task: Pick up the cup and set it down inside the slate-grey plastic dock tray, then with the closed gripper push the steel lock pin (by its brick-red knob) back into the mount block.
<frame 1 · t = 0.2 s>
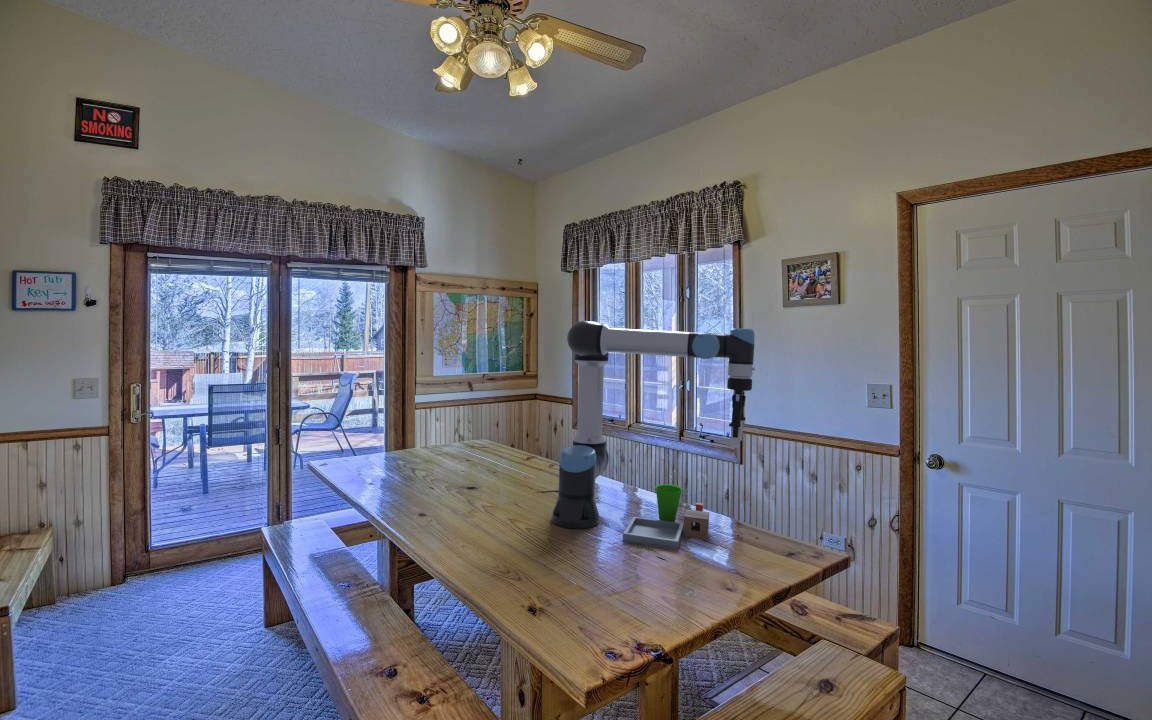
hand: (736, 443, 173), 27 cm above the table, fingers open, 13 cm apart
mount: (695, 534, 167), on the table
tray: (654, 535, 165), on the table
cup: (667, 521, 179), on the table
pin: (698, 515, 174), point 4 cm above the table, slide at 4.5 cm
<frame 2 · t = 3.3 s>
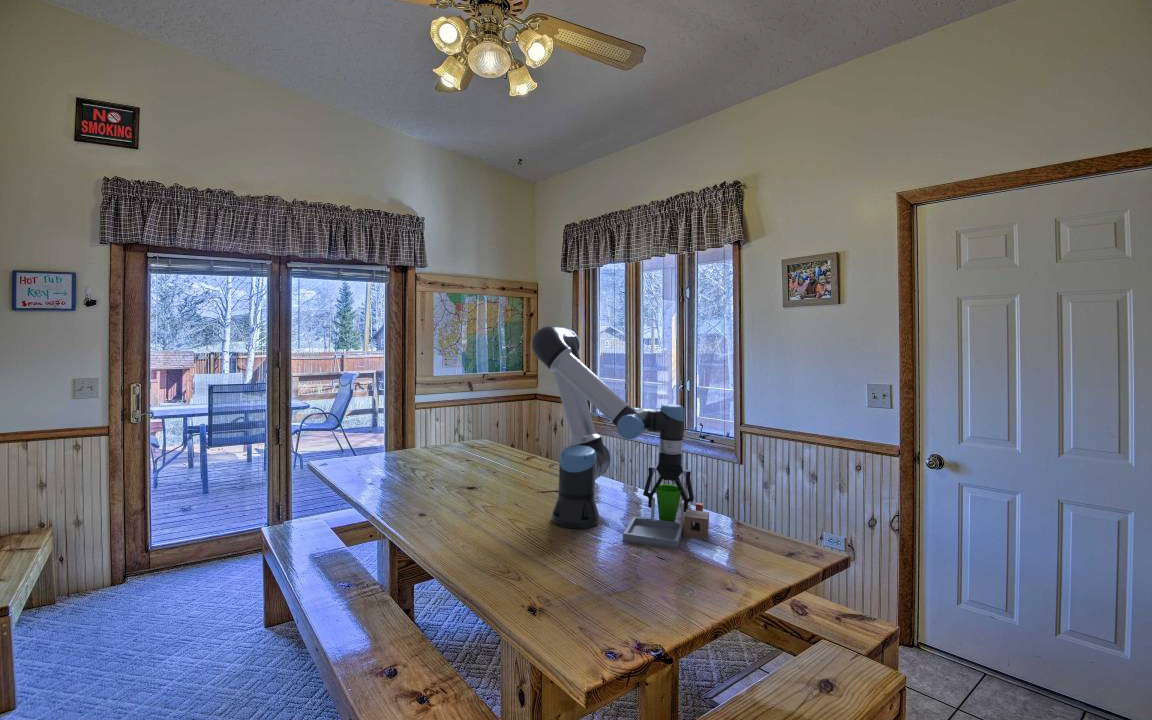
hand: (667, 519, 179), 0 cm above the table, fingers closed on cup, 9 cm apart
cup: (667, 521, 179), on the table, touching gripper
everything else where it was.
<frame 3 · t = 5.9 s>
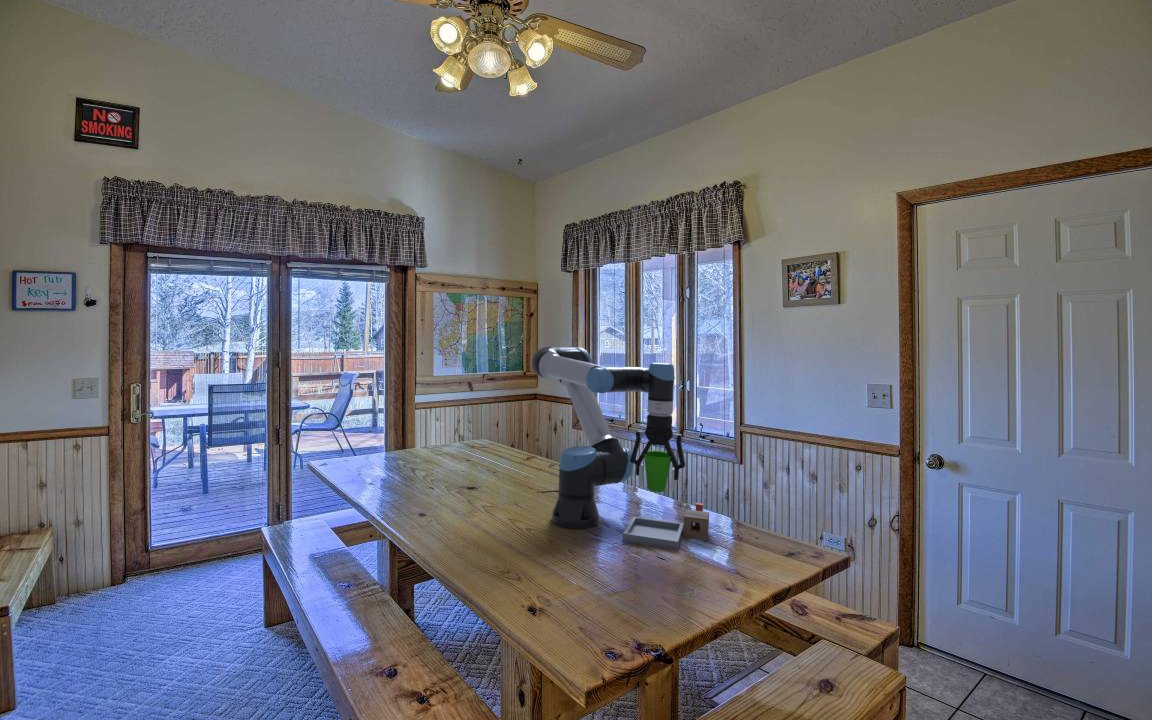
hand: (656, 488, 164), 15 cm above the table, fingers closed on cup, 9 cm apart
cup: (656, 490, 164), point 14 cm above the table, touching gripper
everything else where it was.
when the fingers open (3 cm above the table, at t = 8.4 s): cup drops 2 cm, resting on tray.
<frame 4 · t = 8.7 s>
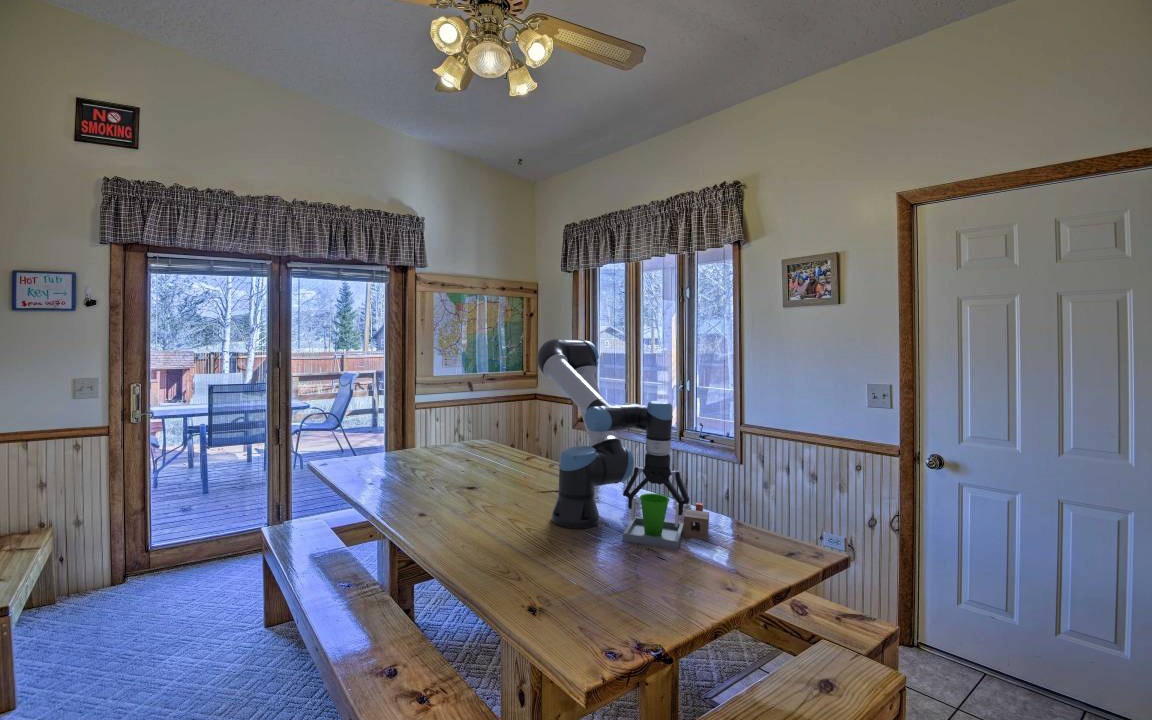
hand: (654, 522, 165), 4 cm above the table, fingers open, 13 cm apart
cup: (653, 534, 165), resting on tray
everything else where it was.
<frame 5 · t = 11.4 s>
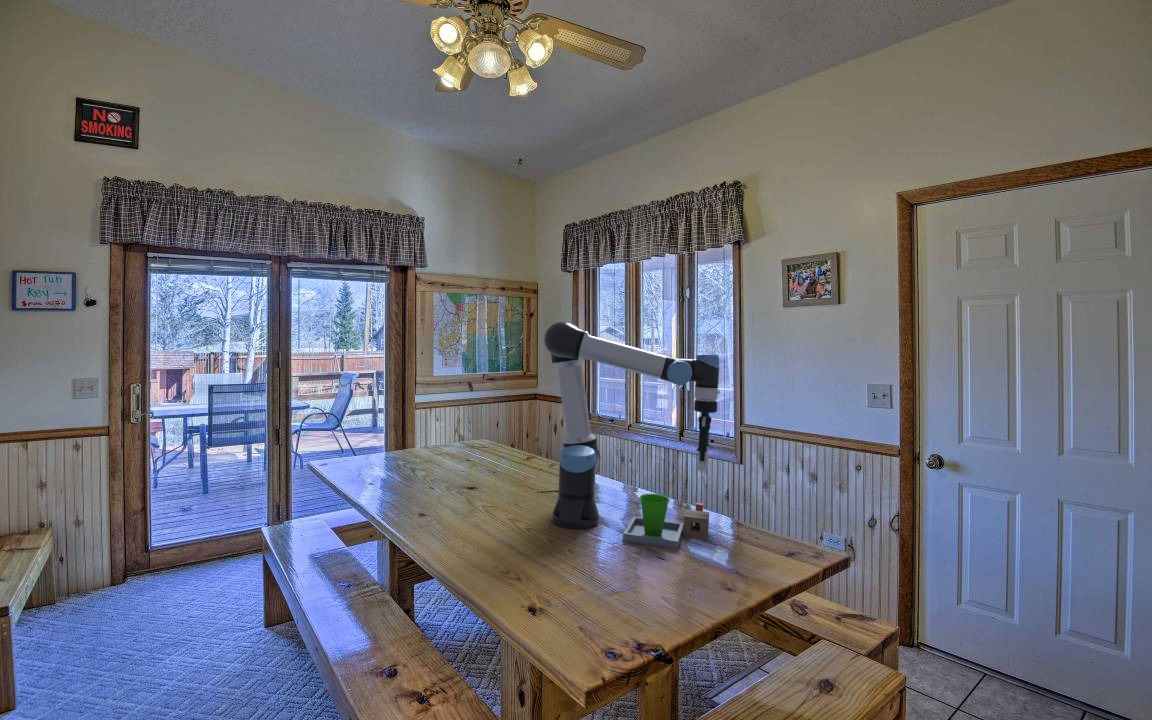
hand: (702, 467, 183), 17 cm above the table, fingers open, 6 cm apart
nothing on the table moved.
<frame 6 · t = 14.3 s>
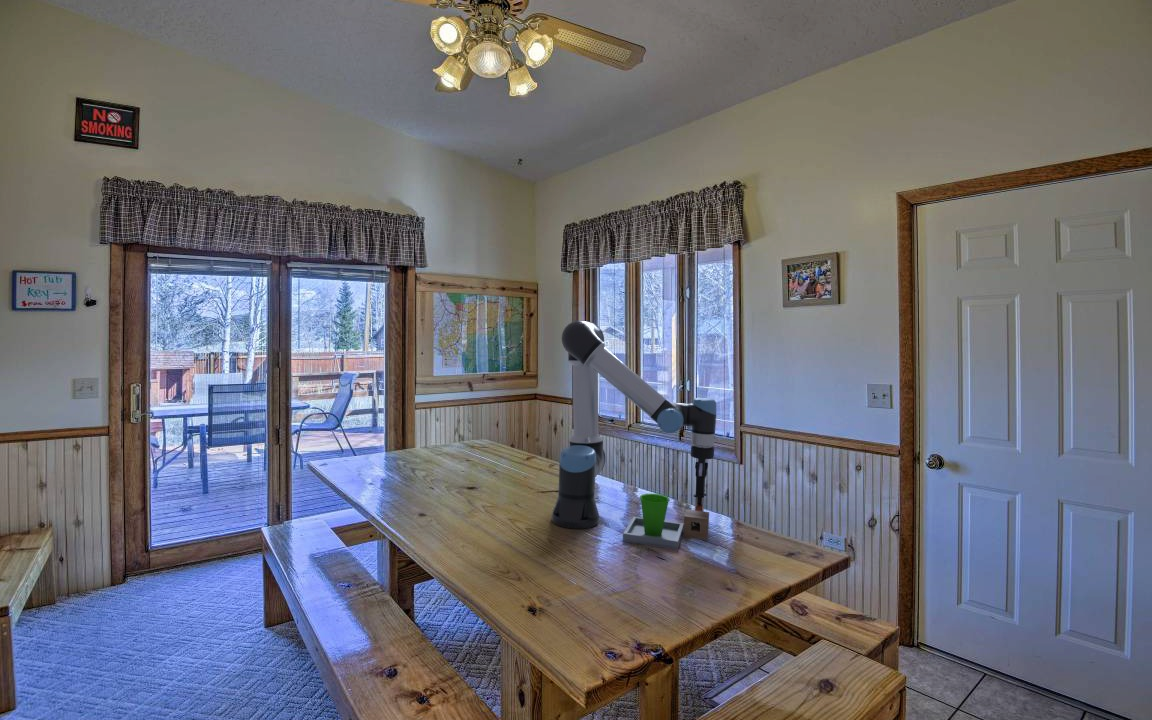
hand: (698, 515, 179), 2 cm above the table, fingers closed
pin: (697, 517, 172), point 4 cm above the table, slide at 2.8 cm, touching gripper
everything else where it was.
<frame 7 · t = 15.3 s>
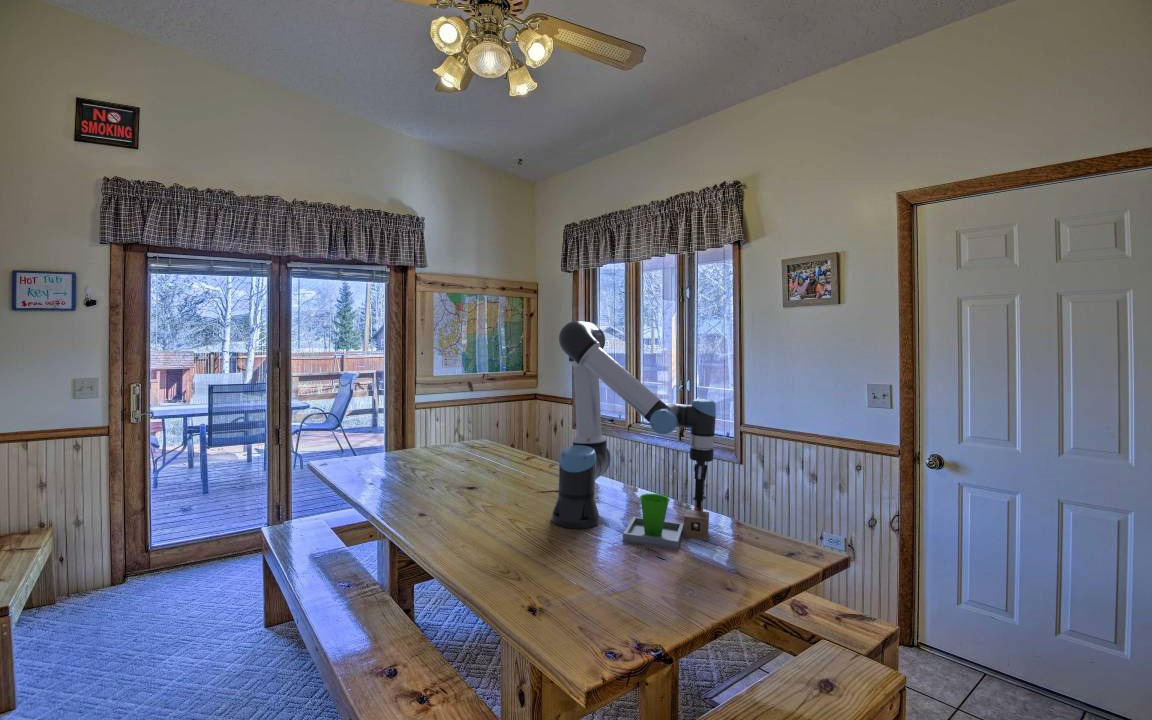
hand: (698, 518, 176), 2 cm above the table, fingers closed
pin: (697, 520, 169), point 4 cm above the table, slide at -0.4 cm, touching gripper
everything else where it was.
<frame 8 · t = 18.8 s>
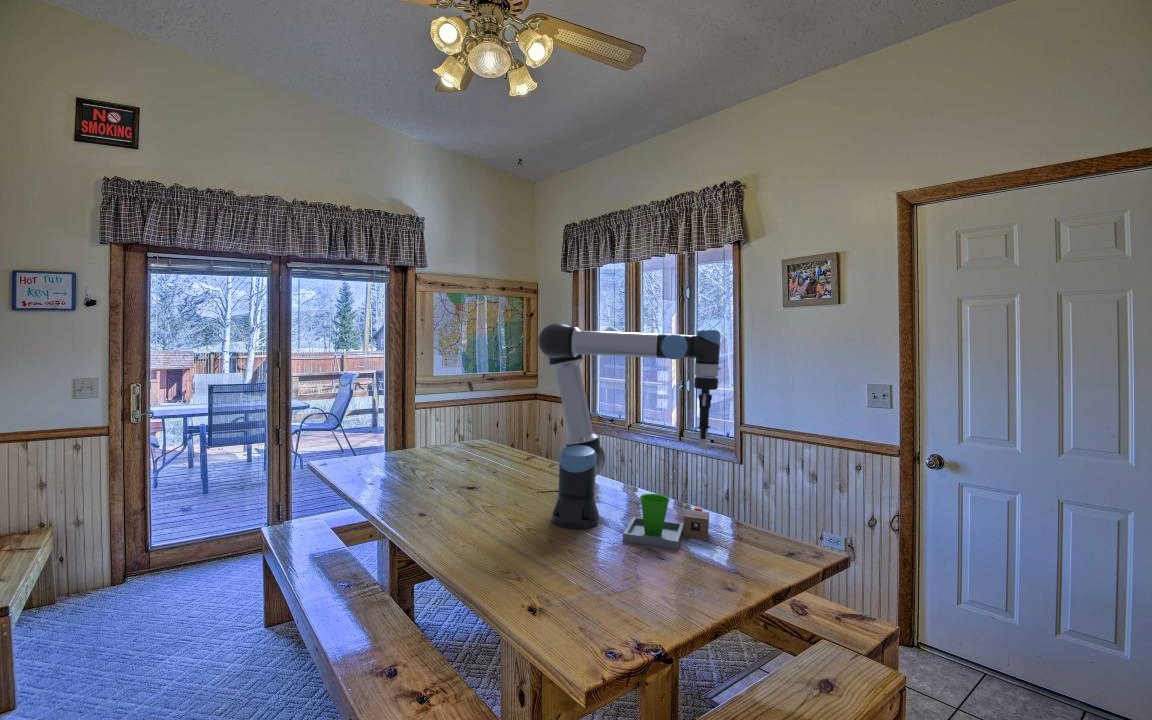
hand: (702, 448, 178), 24 cm above the table, fingers closed
pin: (697, 519, 169), point 4 cm above the table, slide at 0.0 cm
everything else where it was.
at the end: cup inside the target area on the tray (0.3 cm from its centre), point 0.4 cm above the tray's base; cup tilted 0°; pin slide at 0.0 cm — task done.
